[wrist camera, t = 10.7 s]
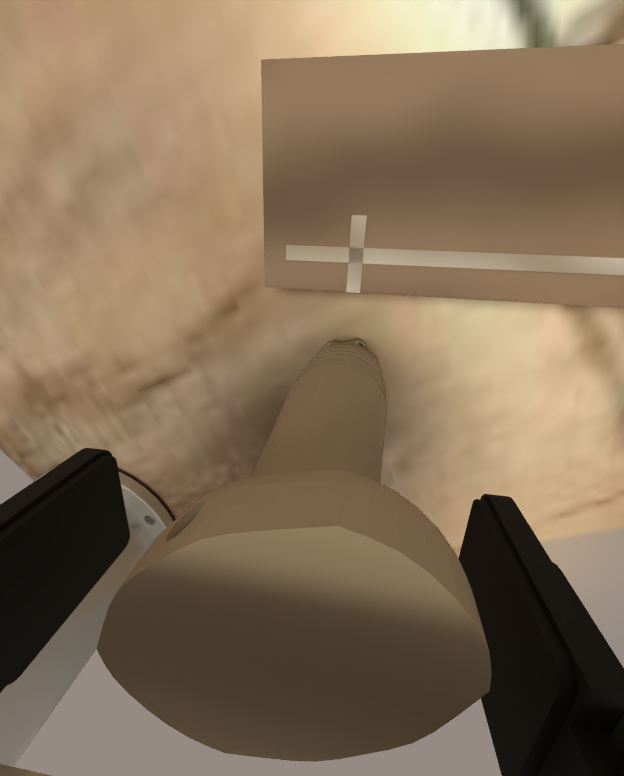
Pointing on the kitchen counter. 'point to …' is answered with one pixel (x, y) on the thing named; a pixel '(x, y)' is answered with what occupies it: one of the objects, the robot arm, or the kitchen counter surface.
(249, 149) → the kitchen counter surface
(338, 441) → the handle
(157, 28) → the kitchen counter surface
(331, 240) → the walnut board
